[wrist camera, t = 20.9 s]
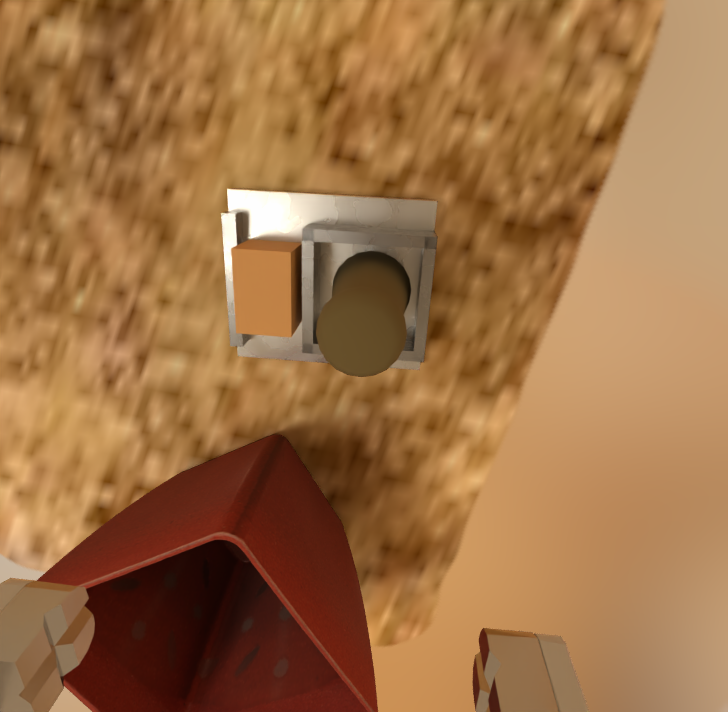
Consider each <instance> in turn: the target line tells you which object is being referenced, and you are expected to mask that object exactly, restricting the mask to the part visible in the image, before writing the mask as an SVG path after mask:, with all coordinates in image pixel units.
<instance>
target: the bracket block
mask: <svg viewBox="0 0 728 712" xmlns="http://www.w3.org/2000/svg"><path fill="white" fill-rule="evenodd" d="M231 256H232V273H233V289H234V306H235V323H236V333H240V334H252V335H265V336H278V337H292V336H293V334H294V333H295V331H296V329H297V328H298V326H299V325H300V323H301V322H302V243H298V242H284V241H269V240H254V239H249V240H247V241H245V242H243V243H241V244H239V245H237V246H235V247H233V248H231Z"/></svg>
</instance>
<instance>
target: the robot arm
mask: <svg viewBox="0 0 728 712" xmlns="http://www.w3.org/2000/svg"><path fill="white" fill-rule="evenodd" d="M88 599H89V597H88V594H87V591H86V588H85V587H80V586H72V585H64V584H56V583H49V582H41V581H34V580H24V579H15V578H10V579H8V580H6V581H4V582H2V583H1V584H0V712H49V710H50V709H51V707H52V706H53V704H54V703H55V701H56V700H57V698H58V696H59V695H60V693H61V692H62V690H63V688H64V675H66V674H67V673H68V672H70V671H71V670H73V669H74V668H75V667H77V666H78V665H79V664H80V662H81V661H82V659H83V658H84V656H85V654H86V653H87V651H88V649H89V646H90V644H91V641H92V638H93V635H94V628H95V621H94V616H93V614H92V613H91V612H90V611H89V610H88V609H87V608H86V607H85V606H84V605H85V603H86V602H87V601H88ZM479 646H480V652H479V653H478V654H476V655H475V660H474V667H473V694H474V703H475V710H476V712H590V711H589V709H588V706H587V703H586V700H585V697H584V694H583V691H582V689H581V686H580V683H579V680H578V677H577V674H576V671H575V669H574V666H573V663H572V660H571V657H570V654H569V651H568V648H567V645H566V643H565V641H564V640H563V639H562V637H561V636H557V635H545V634H533V633H532V632H522V631H511V630H499V629H488V628H483V629H482V631H481V633H480V637H479Z"/></svg>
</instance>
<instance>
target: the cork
mask: <svg viewBox="0 0 728 712" xmlns="http://www.w3.org/2000/svg"><path fill="white" fill-rule="evenodd" d="M410 295H411V285H410V279H409V276H408V274H407V272H406V271H405V269H404V267H403V266H402V265H401V264H400V263H399V262H398V261H397V260H396V259H395V258H393V257H391V256H389V255H387V254H385V253H383V252H377V251H365V252H360V253H357V254H355V255H353V256H351V257H349V258H347V259H346V260H345V261H344V262H343V263H342V265H341V266H340V267H339V268H338V270H337V272H336V274H335V276H334V279H333V287H332V298H331V299H330V300H329V301H328V302H327V303H326V304H325V305H324V307H323V309H322V311H321V313H320V316H319V318H318V320H317V329H316V336H317V341H318V345H319V349H320V351H321V353H322V354H323V356H324V357H325V359H326V361H327V362H329V363H330V364H331V365H332V366H333V367H334V368H335V369H337V370H339V371H341V372H343V373H345V374H347V375H352V376H358V377H365V376H373V375H376V374H378V373H381V372H383V371H385V370H387V369H388V368H389V367H390V366H391V365H392V364H393V363H395V362H396V361H397V359H398V358H399V356H400V354H401V352H402V351H403V349H404V347H405V342H406V336H407V329H406V323H405V317H404V313H405V311H406V308H407V306H408V304H409V301H410Z"/></svg>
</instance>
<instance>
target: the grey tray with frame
mask: <svg viewBox="0 0 728 712" xmlns="http://www.w3.org/2000/svg"><path fill="white" fill-rule="evenodd" d="M227 194H228V210H229V211H227V212H223V213H221V219H222V233H223V247H224V262H225V276H226V290H227V305H228V319H229V333H230V346H237V351H238V356H243V357H256V358H269V359H282V360H296V361H309V362H322V363H329V362H327V361H326V359H325V357H324V356H323V354H322V353H321V351H320V349H319V345H318V341H317V336H316V329H317V320H318V318H319V316H320V313H321V311H322V309H323V307H324V305H325V304H326V303H327V302H328V301H329V300H330V299H331V298H332V287H333V279H334V276H335V274H336V272H337V270H338V268H339V267H340V266H341V265H342V263H343V262H344V261H345V260H346V259H347V258H349V257H351V256H353V255H355V254H357V253H360V252H365V251H377V252H383V253H385V254H387V255H389V256H391V257H393V258H395V259H396V260H397V261H398V262H399V263H400V264H401V265H402V266H403V267H404V269H405V271H406V272H407V274H408V276H409V279H410V285H411V295H410V301H409V304H408V306H407V308H406V311H405V313H404V317H405V323H406V329H407V336H406V342H405V347H404V349H403V351H402V352H401V354H400V356H399V358H398V359H397V361H396V362H395V363H393V364H392V365H391V366H390V367H389V368H400V369H413V370H420V362H424V354H425V345H426V336H427V327H428V318H429V309H430V300H431V291H432V281H433V272H434V263H435V254H436V245H437V235H436V233H435V231H434V230H435V220H436V211H437V202H438V201H437V200H430V199H412V198H395V197H378V196H361V195H343V194H326V193H309V192H291V191H274V190H257V189H239V188H232V189H227ZM249 239H254V240H269V241H284V242H298V243H302V322H301V323H300V325H299V326H298V328H297V329H296V331H295V333H294V334H293V336H292V337H278V336H265V335H252V334H240V333H236V323H235V306H234V289H233V273H232V256H231V248H233V247H235V246H237V245H239V244H241V243H243V242H245V241H247V240H249Z"/></svg>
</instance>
